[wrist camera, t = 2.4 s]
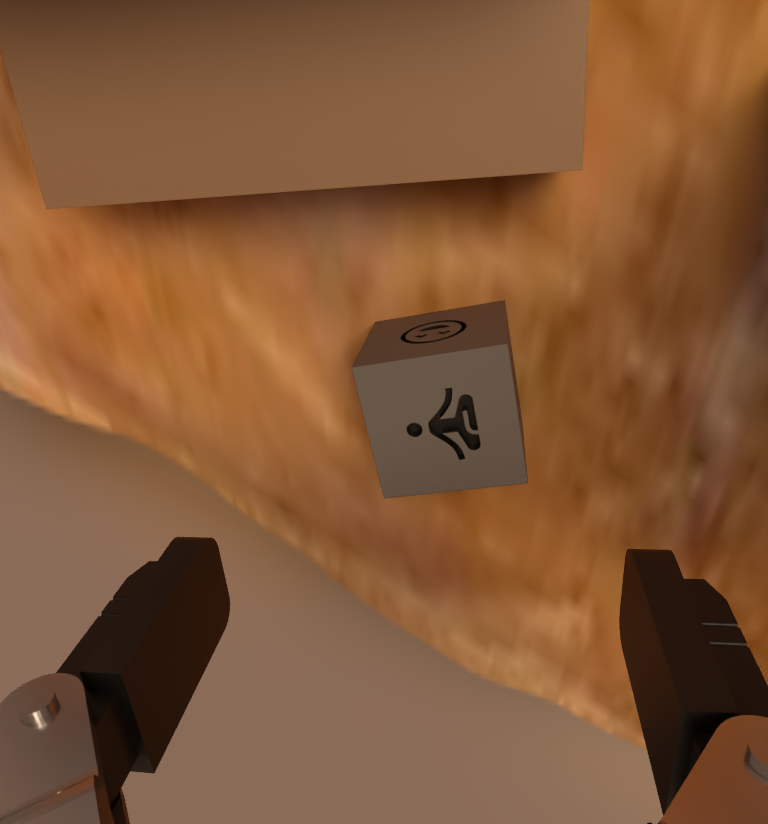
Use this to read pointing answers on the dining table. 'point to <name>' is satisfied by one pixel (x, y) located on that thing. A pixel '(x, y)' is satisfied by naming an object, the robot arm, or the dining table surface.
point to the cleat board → (291, 93)
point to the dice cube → (442, 401)
